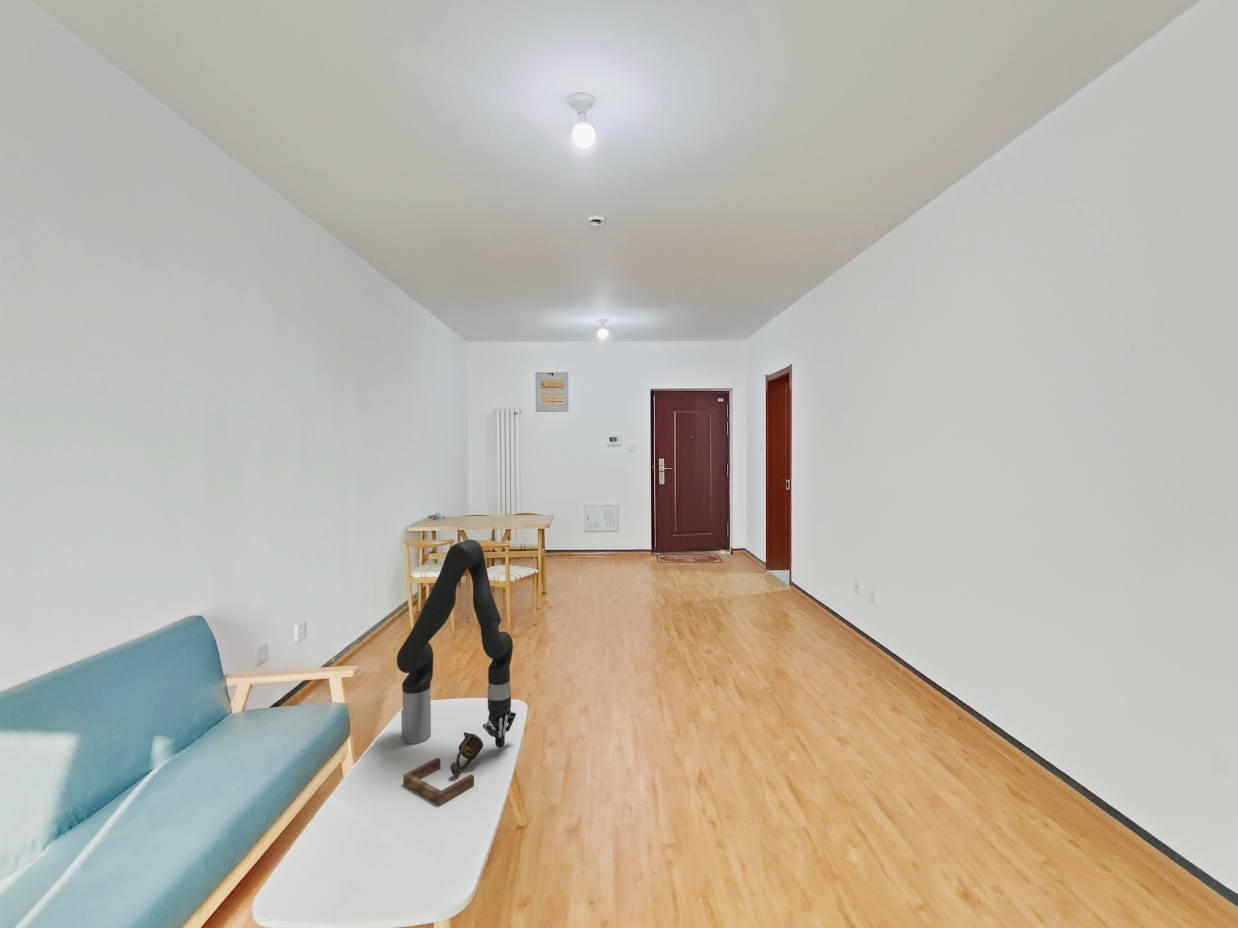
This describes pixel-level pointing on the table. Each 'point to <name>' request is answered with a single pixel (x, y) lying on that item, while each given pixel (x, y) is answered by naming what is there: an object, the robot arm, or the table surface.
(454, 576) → the robot arm
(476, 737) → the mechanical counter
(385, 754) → the table surface
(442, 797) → the bracket
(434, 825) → the table surface
